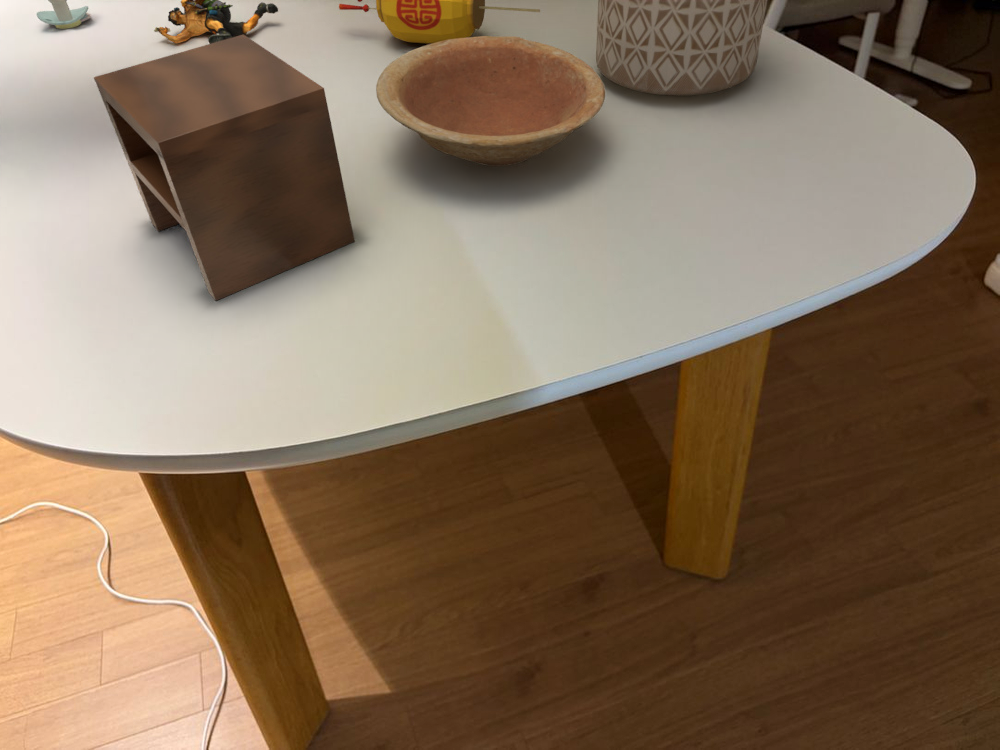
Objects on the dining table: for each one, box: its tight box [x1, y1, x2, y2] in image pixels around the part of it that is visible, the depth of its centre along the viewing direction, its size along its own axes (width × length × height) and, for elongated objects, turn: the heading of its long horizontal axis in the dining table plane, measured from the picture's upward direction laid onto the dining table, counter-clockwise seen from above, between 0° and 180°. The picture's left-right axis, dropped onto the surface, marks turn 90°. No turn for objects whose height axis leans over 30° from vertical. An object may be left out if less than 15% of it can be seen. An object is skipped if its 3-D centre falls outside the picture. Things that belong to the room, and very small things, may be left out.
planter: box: [595, 0, 768, 96], centre depth 94 cm, size 19×19×16 cm
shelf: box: [93, 35, 356, 301], centre depth 73 cm, size 14×16×15 cm
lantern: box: [338, 0, 541, 45], centre depth 108 cm, size 10×10×30 cm
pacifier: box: [35, 0, 92, 30], centre depth 120 cm, size 7×6×6 cm
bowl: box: [375, 35, 606, 167], centre depth 85 cm, size 24×24×8 cm
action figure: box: [153, 0, 279, 44], centre depth 113 cm, size 6×15×15 cm
